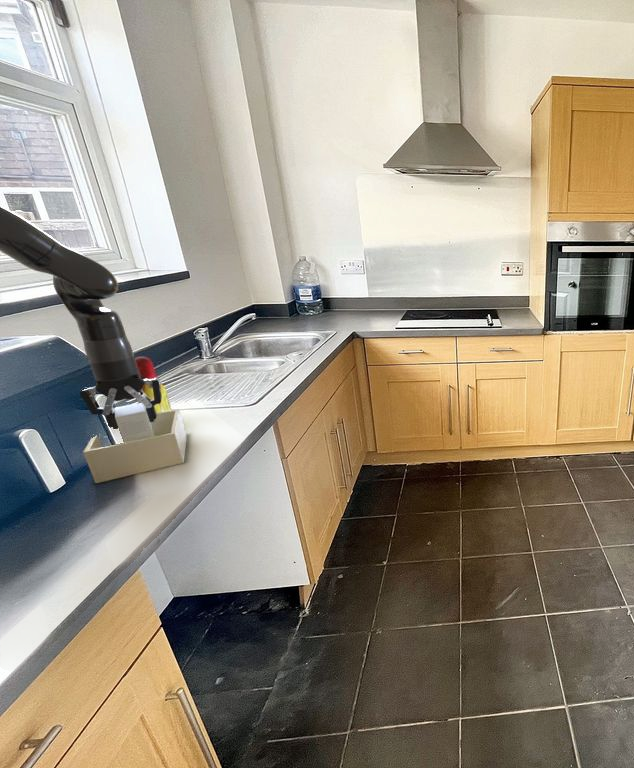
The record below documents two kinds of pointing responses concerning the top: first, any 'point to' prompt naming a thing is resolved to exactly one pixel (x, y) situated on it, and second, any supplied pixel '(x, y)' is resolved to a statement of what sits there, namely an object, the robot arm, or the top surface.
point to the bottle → (149, 373)
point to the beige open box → (140, 450)
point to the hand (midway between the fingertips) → (134, 424)
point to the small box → (133, 422)
